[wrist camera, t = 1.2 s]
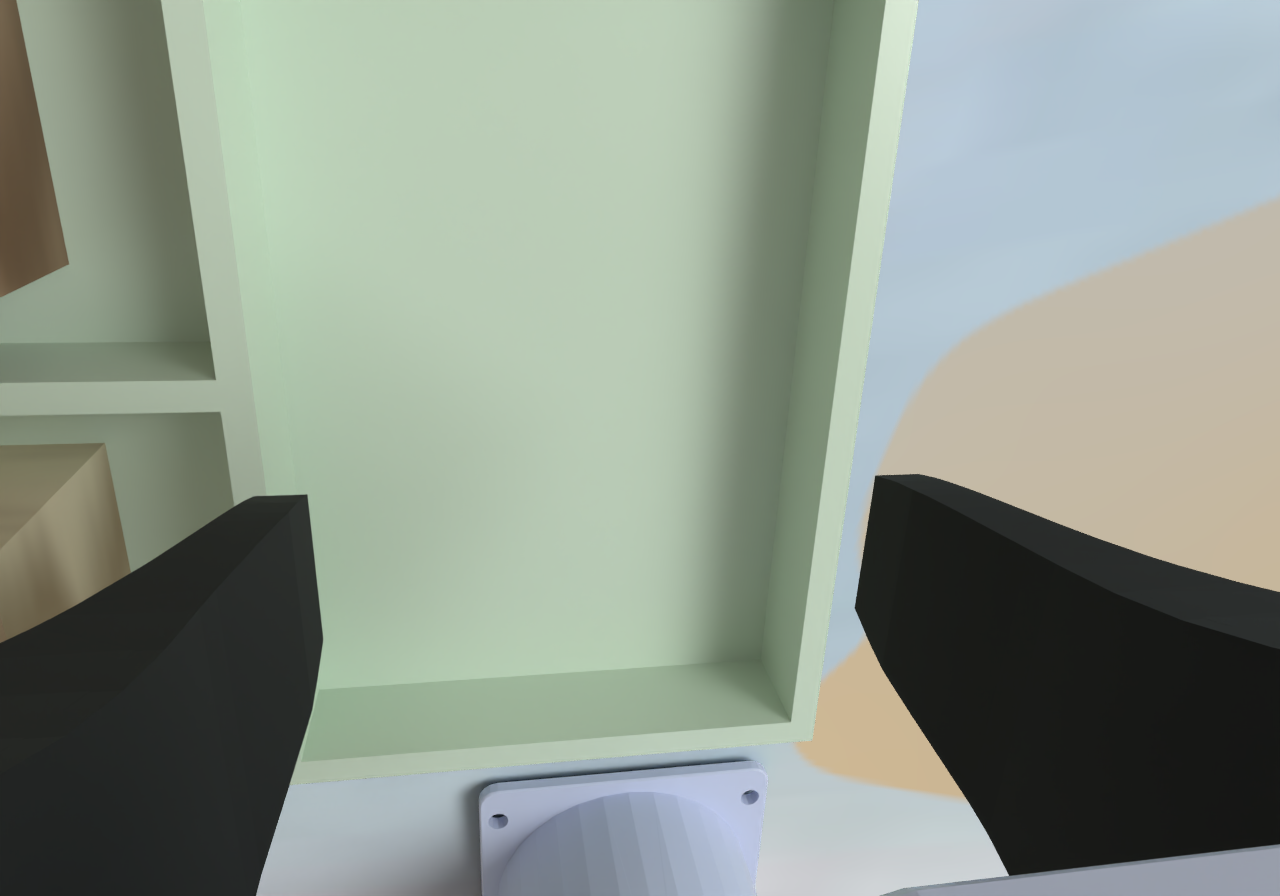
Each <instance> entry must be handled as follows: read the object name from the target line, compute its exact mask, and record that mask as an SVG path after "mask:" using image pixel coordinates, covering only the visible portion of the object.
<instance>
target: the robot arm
mask: <svg viewBox="0 0 1280 896" xmlns="http://www.w3.org/2000/svg"><path fill="white" fill-rule="evenodd" d="M855 610H856V612H857V614H858V617H859V619H860V621H861V624H862V626H863V628H864V631H865V633H866V636H867V638H868V640H869V642H870V644H871V646H872V649H873V651H874V653H875V655H876V657H877V659H878V661H879V663H880V666H881V667H882V669H883V671H884V673H885V674H886V676H887V677H888V679H889V681H890V682H891V684H892V685H893V687H894V689H895V690H896V692H897V693H898V695H899V696H900V698H901V699H902V701H903V703H904V704H905V706H906V707H907V709H908V710H909V712H910V714H911V715H912V717H913V718H914V720H915V721H916V723H917V724H918V726H919V727H920V729H921V730H922V732H923V733H924V735H925V736H926V738H927V740H928V741H929V743H930V744H931V746H932V747H933V749H934V750H935V752H936V753H937V755H938V756H939V758H940V759H941V761H942V762H943V764H944V765H945V767H946V768H947V770H948V771H949V773H950V774H951V776H952V777H953V779H954V781H955V782H956V784H957V785H958V786H959V788H960V790H961V791H962V792H963V794H964V796H965V797H966V799H967V800H968V802H969V803H970V805H971V807H972V808H973V810H974V812H975V813H976V815H977V817H978V818H979V820H980V822H981V823H982V825H983V827H984V829H985V830H986V832H987V834H988V835H989V837H990V839H991V841H992V843H993V845H994V847H995V849H996V851H997V853H998V855H999V857H1000V859H1001V861H1002V862H1003V864H1004V866H1005V868H1006V870H1007V872H1008V874H1009V876H1005V877H996V878H988V879H979V880H971V881H962V882H954V883H945V884H937V885H928V886H919V887H911V888H903V889H900V890H897V891H894V892H890V893H887V894H884V895H881V896H1280V592H1276V591H1272V590H1268V589H1264V588H1260V587H1256V586H1252V585H1248V584H1243V583H1240V582H1236V581H1232V580H1229V579H1225V578H1221V577H1218V576H1214V575H1211V574H1207V573H1204V572H1200V571H1196V570H1193V569H1189V568H1186V567H1182V566H1178V565H1175V564H1172V563H1169V562H1166V561H1162V560H1159V559H1156V558H1153V557H1150V556H1146V555H1143V554H1141V553H1138V552H1135V551H1132V550H1129V549H1126V548H1124V547H1121V546H1118V545H1115V544H1112V543H1109V542H1106V541H1103V540H1100V539H1098V538H1095V537H1092V536H1090V535H1087V534H1084V533H1081V532H1079V531H1076V530H1073V529H1071V528H1068V527H1065V526H1063V525H1060V524H1057V523H1055V522H1052V521H1050V520H1047V519H1045V518H1042V517H1040V516H1037V515H1035V514H1032V513H1029V512H1027V511H1024V510H1022V509H1019V508H1017V507H1014V506H1012V505H1009V504H1007V503H1004V502H1002V501H999V500H996V499H994V498H991V497H989V496H986V495H983V494H981V493H978V492H976V491H973V490H970V489H967V488H965V487H962V486H959V485H956V484H953V483H950V482H947V481H944V480H941V479H937V478H934V477H929V476H925V475H920V474H910V475H880V476H875V482H874V488H873V494H872V501H871V507H870V514H869V520H868V527H867V533H866V539H865V546H864V552H863V559H862V565H861V571H860V578H859V584H858V591H857V597H856V604H855ZM322 646H323V631H322V622H321V613H320V604H319V595H318V586H317V577H316V567H315V558H314V549H313V540H312V531H311V522H310V513H309V504H308V495H307V494H305V495H275V496H253V497H251V498H249V499H247V500H245V501H243V502H241V503H239V504H238V505H236V506H234V507H233V508H231V509H229V510H228V511H226V512H225V513H223V514H222V515H220V516H219V517H217V518H215V519H214V520H212V521H211V522H209V523H208V524H206V525H205V526H203V527H202V528H200V529H199V530H197V531H196V532H194V533H193V534H191V535H190V536H188V537H187V538H185V539H184V540H182V541H180V542H179V543H177V544H176V545H174V546H173V547H171V548H170V549H168V550H167V551H165V552H164V553H162V554H161V555H159V556H157V557H156V558H154V559H153V560H151V561H150V562H148V563H147V564H145V565H143V566H142V567H140V568H138V569H136V570H135V571H133V572H131V573H130V574H128V575H126V576H125V577H123V578H121V579H119V580H118V581H116V582H114V583H113V584H111V585H109V586H108V587H106V588H104V589H102V590H101V591H99V592H97V593H96V594H94V595H92V596H91V597H89V598H87V599H85V600H84V601H82V602H80V603H79V604H77V605H75V606H73V607H71V608H70V609H68V610H66V611H64V612H62V613H60V614H58V615H56V616H55V617H53V618H51V619H49V620H47V621H45V622H43V623H41V624H39V625H37V626H35V627H33V628H31V629H29V630H27V631H25V632H22V633H20V634H18V635H16V636H14V637H12V638H10V639H8V640H5V641H3V642H1V643H0V896H256V893H257V889H258V885H259V882H260V878H261V874H262V871H263V868H264V864H265V861H266V858H267V855H268V852H269V848H270V845H271V842H272V839H273V836H274V833H275V829H276V826H277V823H278V820H279V817H280V813H281V810H282V807H283V804H284V801H285V797H286V794H287V791H288V788H289V785H290V782H291V778H292V775H293V772H294V769H295V766H296V762H297V759H298V756H299V753H300V749H301V746H302V743H303V739H304V736H305V733H306V730H307V726H308V723H309V719H310V716H311V713H312V709H313V703H314V697H315V691H316V685H317V680H318V673H319V666H320V659H321V653H322ZM767 786H768V776H767V773H766V771H765V768H764V767H763V766H762V764H761V763H759V762H757V761H741V762H730V763H718V764H707V765H696V766H684V767H673V768H662V769H650V770H639V771H628V772H616V773H605V774H594V775H582V776H571V777H560V778H548V779H537V780H526V781H514V782H503V783H495V784H491V785H489V786H487V787H486V788H484V789H483V790H482V792H481V793H480V796H479V825H480V854H481V883H482V896H757V893H756V890H755V883H756V875H757V867H758V859H759V851H760V842H761V834H762V826H763V818H764V810H765V802H766V794H767ZM749 790H753V791H752V792H751V793H749V794H744V793H745V792H746V791H749ZM496 814H504V816H503V817H500V818H494V817H492V816H493V815H496Z"/></svg>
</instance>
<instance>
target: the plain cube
mask: <svg viewBox="0 0 1280 896" xmlns="http://www.w3.org/2000/svg"><path fill="white" fill-rule="evenodd" d="M130 573H131V570H130V565H129V560H128V555H127V550H126V545H125V540H124V535H123V530H122V525H121V520H120V515H119V510H118V505H117V500H116V495H115V490H114V485H113V480H112V475H111V470H110V465H109V460H108V455H107V450H106V445H105V443H82V444H38V445H0V643H1V642H3V641H5V640H8V639H10V638H12V637H14V636H16V635H18V634H20V633H22V632H25V631H27V630H29V629H31V628H33V627H35V626H37V625H39V624H41V623H43V622H45V621H47V620H49V619H51V618H53V617H55V616H56V615H58V614H60V613H62V612H64V611H66V610H68V609H70V608H71V607H73V606H75V605H77V604H79V603H80V602H82V601H84V600H85V599H87V598H89V597H91V596H92V595H94V594H96V593H97V592H99V591H101V590H102V589H104V588H106V587H108V586H109V585H111V584H113V583H114V582H116V581H118V580H119V579H121V578H123V577H125V576H126V575H128V574H130Z"/></svg>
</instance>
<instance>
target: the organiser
mask: <svg viewBox="0 0 1280 896" xmlns="http://www.w3.org/2000/svg"><path fill="white" fill-rule="evenodd" d="M16 1H17V6H18V11H19V16H20V21H21V26H22V31H23V36H24V41H25V46H26V51H27V56H28V61H29V66H30V71H31V76H32V81H33V86H34V91H35V96H36V101H37V106H38V111H39V116H40V121H41V126H42V131H43V136H44V141H45V146H46V151H47V156H48V161H49V166H50V171H51V176H52V181H53V186H54V191H55V196H56V201H57V206H58V211H59V216H60V221H61V226H62V231H63V236H64V241H65V246H66V251H67V256H68V261H69V265H66V266H64V267H62V268H60V269H58V270H56V271H54V272H52V273H50V274H48V275H46V276H44V277H42V278H40V279H38V280H36V281H34V282H31V283H29V284H27V285H25V286H23V287H21V288H19V289H17V290H15V291H13V292H11V293H9V294H7V295H5V296H3V297H1V298H0V445H38V444H82V443H105V445H106V450H107V455H108V460H109V465H110V470H111V475H112V480H113V485H114V490H115V495H116V500H117V505H118V510H119V515H120V520H121V525H122V530H123V535H124V540H125V545H126V550H127V555H128V560H129V565H130V570H131V572H133V571H135V570H136V569H138V568H140V567H142V566H143V565H145V564H147V563H148V562H150V561H151V560H153V559H154V558H156V557H157V556H159V555H161V554H162V553H164V552H165V551H167V550H168V549H170V548H171V547H173V546H174V545H176V544H177V543H179V542H180V541H182V540H184V539H185V538H187V537H188V536H190V535H191V534H193V533H194V532H196V531H197V530H199V529H200V528H202V527H203V526H205V525H206V524H208V523H209V522H211V521H212V520H214V519H215V518H217V517H219V516H220V515H222V514H223V513H225V512H226V511H228V510H229V509H231V508H233V507H234V506H236V505H238V504H239V503H241V502H243V501H245V500H247V499H249V498H251V497H253V496H275V495H305V494H307V495H308V504H309V513H310V522H311V531H312V540H313V549H314V558H315V567H316V577H317V586H318V595H319V604H320V613H321V622H322V631H323V646H322V653H321V659H320V666H319V673H318V680H317V685H316V691H315V697H314V703H313V709H312V713H311V716H310V719H309V723H308V726H307V730H306V733H305V736H304V739H303V743H302V746H301V749H300V753H299V756H298V759H297V762H296V766H295V769H294V772H293V775H292V778H291V782H290V785H295V784H307V783H319V782H330V781H342V780H354V779H366V778H377V777H389V776H401V775H412V774H424V773H436V772H448V771H459V770H471V769H483V768H495V767H506V766H518V765H530V764H541V763H553V762H565V761H577V760H588V759H600V758H612V757H623V756H635V755H647V754H659V753H670V752H682V751H694V750H706V749H717V748H729V747H741V746H752V745H764V744H776V743H788V742H799V741H811V740H812V738H813V731H814V724H815V717H816V710H817V703H818V696H819V689H820V682H821V676H822V669H823V662H824V655H825V648H826V641H827V634H828V627H829V620H830V613H831V606H832V599H833V592H834V585H835V578H836V571H837V564H838V557H839V550H840V544H841V537H842V530H843V523H844V516H845V509H846V502H847V495H848V488H849V481H850V474H851V467H852V460H853V453H854V446H855V439H856V432H857V425H858V418H859V412H860V405H861V398H862V391H863V384H864V377H865V370H866V363H867V356H868V349H869V342H870V335H871V328H872V321H873V314H874V307H875V300H876V293H877V286H878V280H879V273H880V266H881V259H882V252H883V245H884V238H885V231H886V224H887V217H888V210H889V203H890V196H891V189H892V182H893V175H894V168H895V161H896V155H897V148H898V141H899V134H900V127H901V120H902V113H903V106H904V99H905V92H906V85H907V78H908V71H909V64H910V57H911V50H912V43H913V36H914V29H915V23H916V16H917V9H918V2H919V0H16Z"/></svg>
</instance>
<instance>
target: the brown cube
mask: <svg viewBox="0 0 1280 896" xmlns="http://www.w3.org/2000/svg"><path fill="white" fill-rule="evenodd" d="M66 265H69V261H68V256H67V251H66V246H65V241H64V236H63V231H62V226H61V221H60V216H59V211H58V206H57V201H56V196H55V191H54V186H53V181H52V176H51V171H50V166H49V161H48V156H47V151H46V146H45V141H44V136H43V131H42V126H41V121H40V116H39V111H38V106H37V101H36V96H35V91H34V86H33V81H32V76H31V71H30V66H29V61H28V56H27V51H26V46H25V41H24V36H23V31H22V26H21V21H20V16H19V11H18V6H17V1H16V0H0V298H1V297H3V296H5V295H7V294H9V293H11V292H13V291H15V290H17V289H19V288H21V287H23V286H25V285H27V284H29V283H31V282H34V281H36V280H38V279H40V278H42V277H44V276H46V275H48V274H50V273H52V272H54V271H56V270H58V269H60V268H62V267H64V266H66Z"/></svg>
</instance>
